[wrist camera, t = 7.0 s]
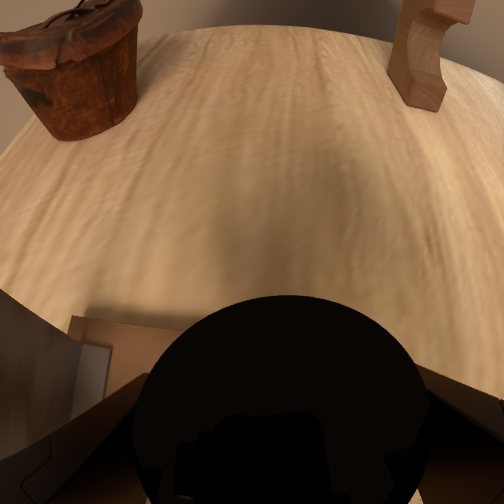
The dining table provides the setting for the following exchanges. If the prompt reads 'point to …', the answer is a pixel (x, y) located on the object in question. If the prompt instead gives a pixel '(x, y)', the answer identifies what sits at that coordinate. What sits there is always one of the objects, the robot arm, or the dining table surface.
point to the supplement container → (283, 410)
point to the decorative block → (424, 49)
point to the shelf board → (64, 369)
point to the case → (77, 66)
